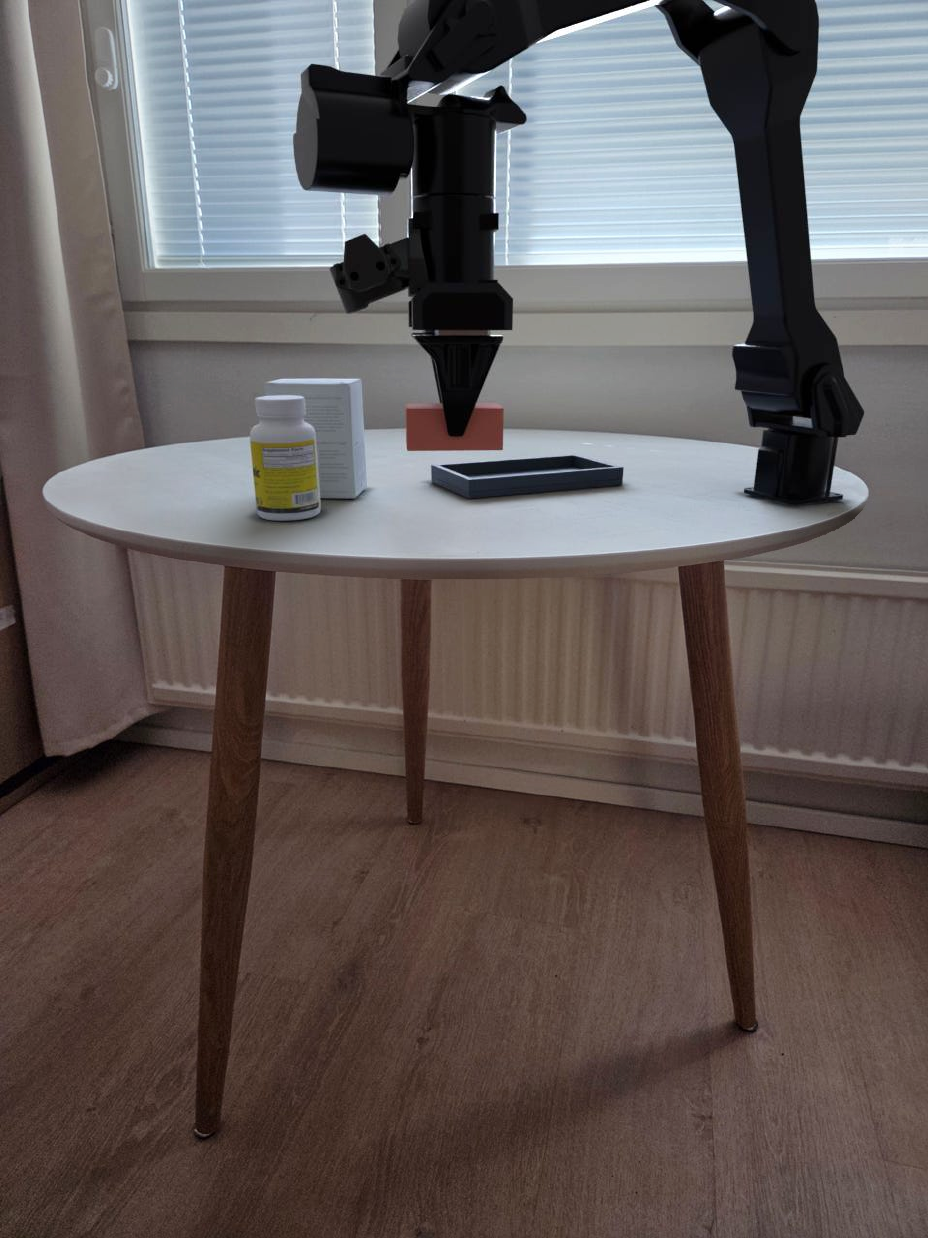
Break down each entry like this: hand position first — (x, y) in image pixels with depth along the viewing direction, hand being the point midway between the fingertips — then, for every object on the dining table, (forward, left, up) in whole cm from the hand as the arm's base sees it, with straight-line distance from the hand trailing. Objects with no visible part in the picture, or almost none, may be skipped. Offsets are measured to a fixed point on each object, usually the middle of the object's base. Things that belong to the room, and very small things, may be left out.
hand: (453, 432), depth 63 cm
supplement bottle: (+10, -12, -8) cm, 18 cm away
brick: (0, 0, -1) cm, 1 cm away
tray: (-16, -17, -8) cm, 24 cm away
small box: (+5, -20, -8) cm, 23 cm away
